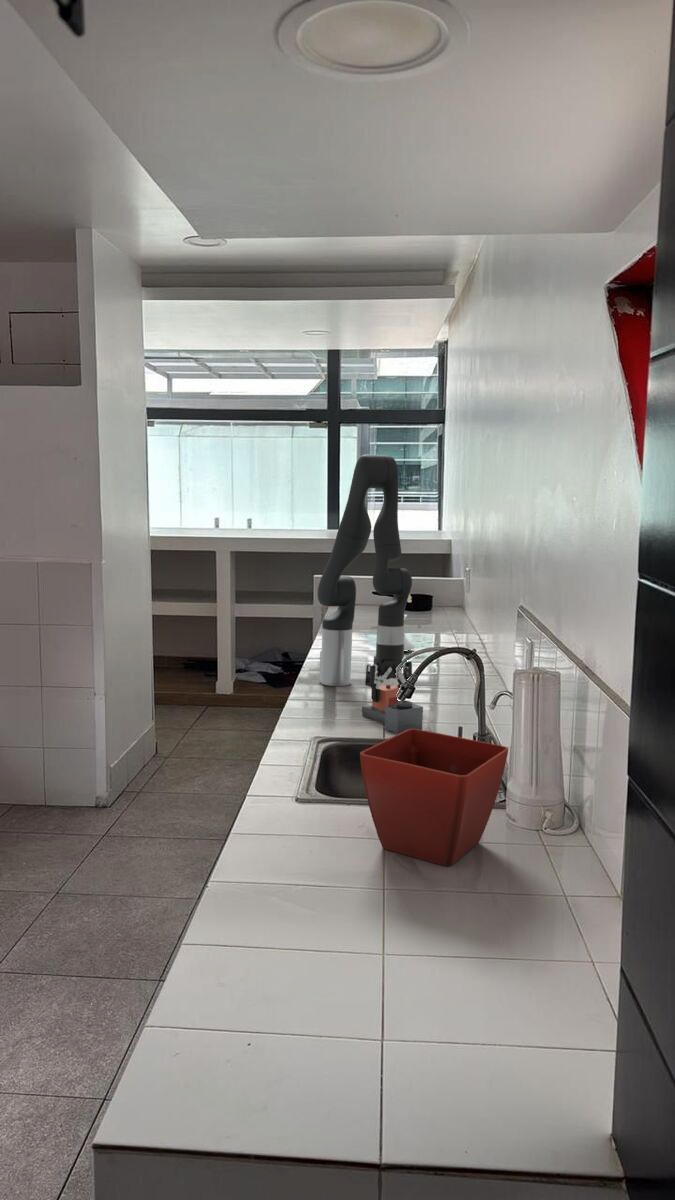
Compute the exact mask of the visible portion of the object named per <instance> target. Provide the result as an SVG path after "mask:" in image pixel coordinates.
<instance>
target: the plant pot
mask: <svg viewBox="0 0 675 1200" xmlns="http://www.w3.org/2000/svg"><path fill="white" fill-rule="evenodd" d="M508 754H509V747H508V746H504V745H500V744H494V743H490V742H485V741H484V742H483V741H480V740H475V739H470V738H464V737H460V736H454V735H449V734H445V733H441V732H440V733H438V732H434V731H429V730H424V729H422V730H419V729H408V730H406V731H403V732H401V733H399V734H395V735H393V736H391V737H389V738H387V739H385V740H383V741H381V742H379V743H377V744H375V745H372V746H371V747H368V748H366V749H364V750H362V751H360V753H359V759H360V767H361V774H362V780H363V786H364V791H365V794H366V799H367V803H368V807H369V811H370V815H371V818H372V821H373V824H374V827H375V830H376V833H377V837H378V840H379V842H380V844H381V847H382V848H383V849H385V850H387V851H389V852H390V851H391V852H394V853H397V854H401V855H405V856H409V857H411V858H412V857H413V858H416V859H419V860H422V861H425V862H430V863H434V864H437V865H441V866H445V867H450V866H453V865H454V864H455V863H457V861H459V860H460V859H461V858H462V857H464V855H466V854H467V853H468V852H469V851H471V850H472V849H473V848H474V847H475V846H476V845H478V844H479V843H480V841H481V839H482V837H483V834H484V833H485V829H486V827H487V825H488V822H489V821H490V820H489V819H490V817H491V814H492V811H493V809H494V806H495V803H496V800H497V797H498V794H499V791H500V788H501V785H502V781H503V775H504V772H505V768H506V763H507V759H508Z"/></svg>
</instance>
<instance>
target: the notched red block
mask: <svg viewBox="0 0 675 1200" xmlns="http://www.w3.org/2000/svg"><path fill="white" fill-rule="evenodd" d="M378 689H380V695H379V702H374V701H373V700H372V699H371V700H372V701H371V704H372V705H371V706H372V707H375V708H377V709H380V710H383V711H385V708H386V706H389V705H396V703H397V701H398V700H397V697H396V694H397V692H398V690H399V687H396V686H393V685H384V686H380V687H379V688H378Z"/></svg>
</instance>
